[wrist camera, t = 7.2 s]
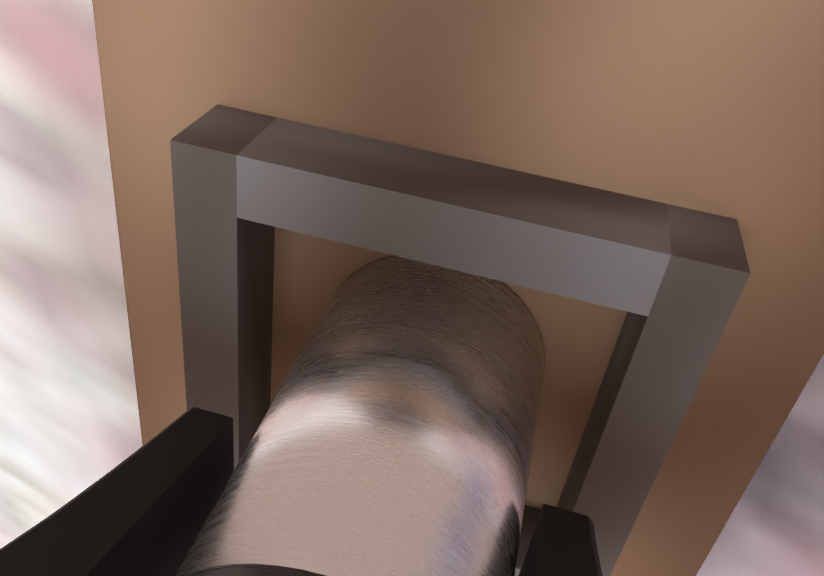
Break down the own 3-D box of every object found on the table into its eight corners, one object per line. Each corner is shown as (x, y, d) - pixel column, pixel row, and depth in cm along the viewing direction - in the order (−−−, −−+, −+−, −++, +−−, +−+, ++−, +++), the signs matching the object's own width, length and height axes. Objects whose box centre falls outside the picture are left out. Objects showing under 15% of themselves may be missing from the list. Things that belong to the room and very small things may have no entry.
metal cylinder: (570, 286, 12) (508, 808, 6) (519, 454, 14) (438, 951, 8) (329, 230, 12) (50, 661, 6) (319, 402, 15) (106, 835, 9)
